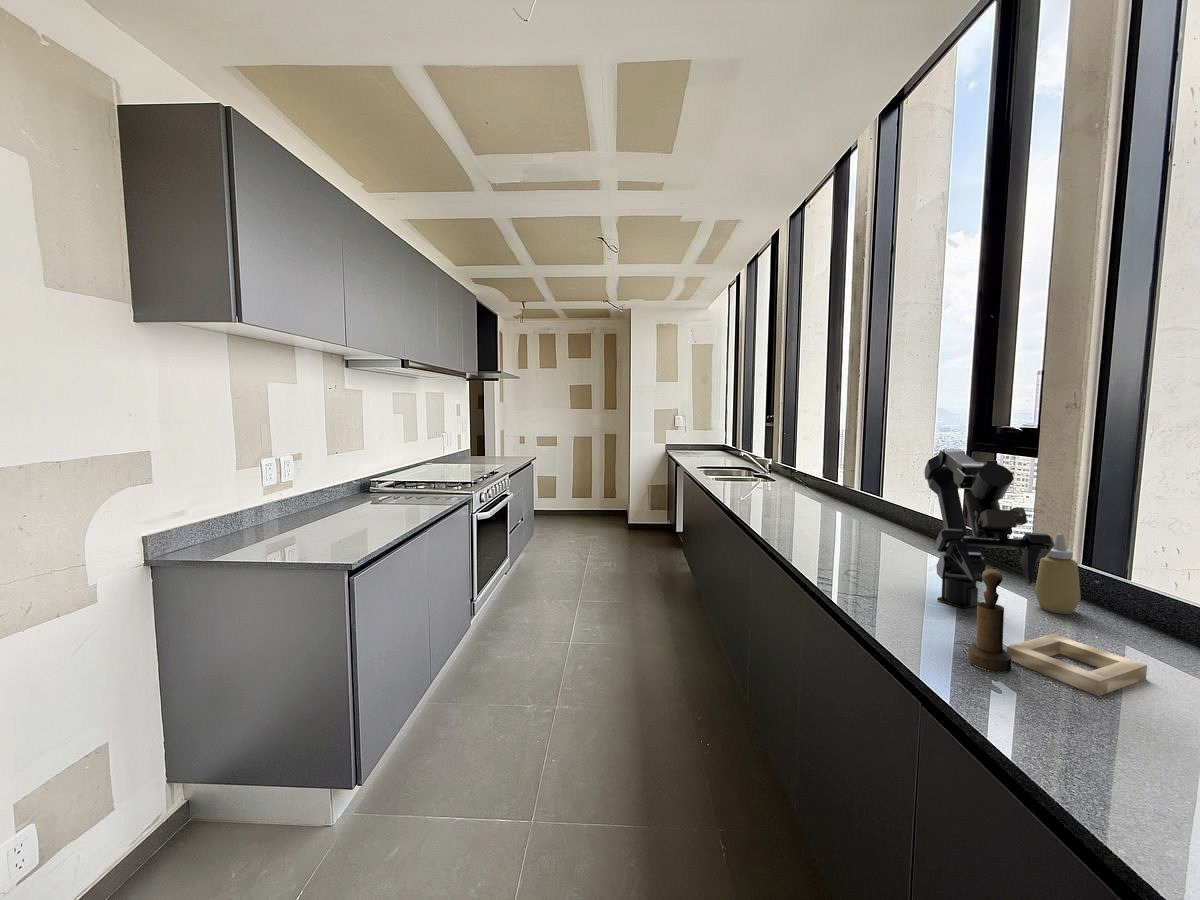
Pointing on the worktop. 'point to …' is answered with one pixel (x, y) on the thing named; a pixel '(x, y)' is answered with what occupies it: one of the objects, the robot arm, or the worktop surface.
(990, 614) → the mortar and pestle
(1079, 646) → the frame
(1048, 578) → the squeeze bottle
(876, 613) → the worktop surface
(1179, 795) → the worktop surface
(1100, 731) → the worktop surface
